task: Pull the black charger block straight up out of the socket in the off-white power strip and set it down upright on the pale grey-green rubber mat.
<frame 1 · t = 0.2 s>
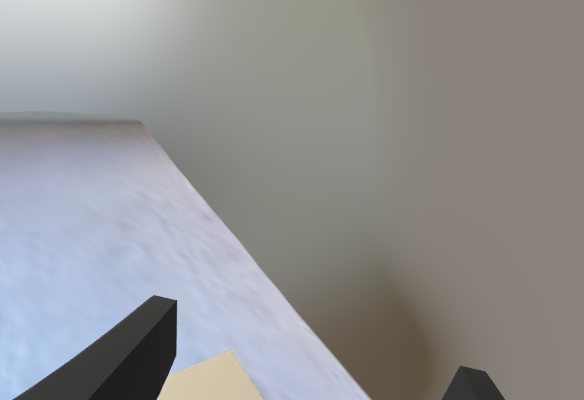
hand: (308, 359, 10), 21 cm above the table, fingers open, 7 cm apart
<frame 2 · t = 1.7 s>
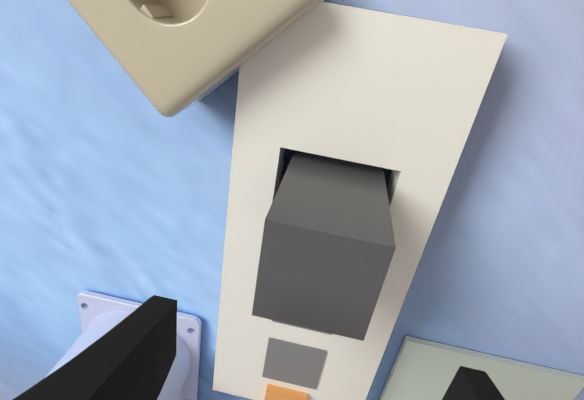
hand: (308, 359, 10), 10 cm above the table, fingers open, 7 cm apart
power strip: (319, 242, 20), on the table
charger: (330, 191, 19), resting in power strip
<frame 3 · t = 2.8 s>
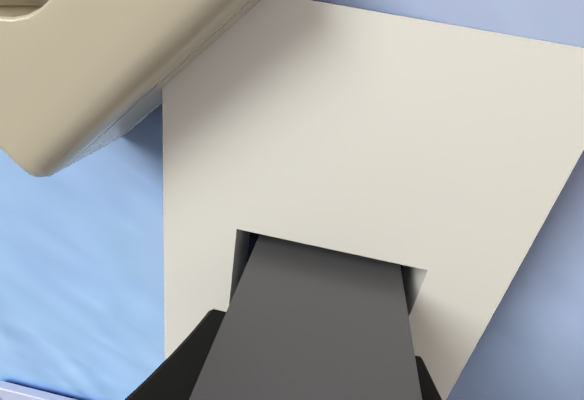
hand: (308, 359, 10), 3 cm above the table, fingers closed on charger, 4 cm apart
power strip: (304, 338, 14), on the table
charger: (319, 275, 13), resting in power strip, touching gripper
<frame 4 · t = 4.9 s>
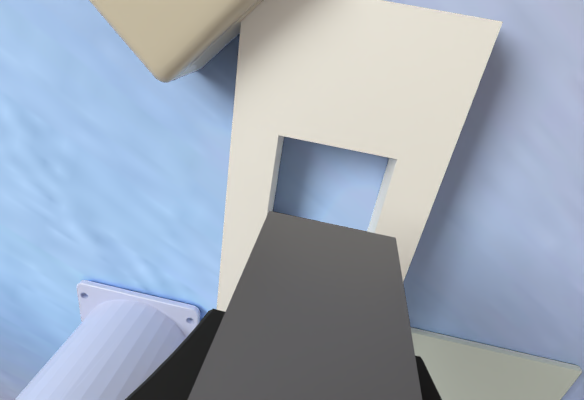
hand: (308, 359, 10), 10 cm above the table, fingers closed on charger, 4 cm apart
power strip: (317, 231, 20), on the table
charger: (319, 274, 13), point 7 cm above the table, touching gripper
mat: (457, 399, 24), on the table
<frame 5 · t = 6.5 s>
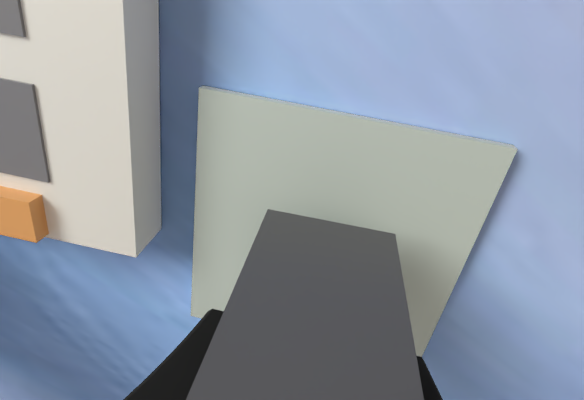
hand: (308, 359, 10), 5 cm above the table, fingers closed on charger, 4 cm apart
charger: (319, 271, 13), point 2 cm above the table, touching gripper
mat: (324, 242, 15), on the table
when the fingers open (5 cm above the table, at t = 6.9 s): charger drops 2 cm, resting on mat.
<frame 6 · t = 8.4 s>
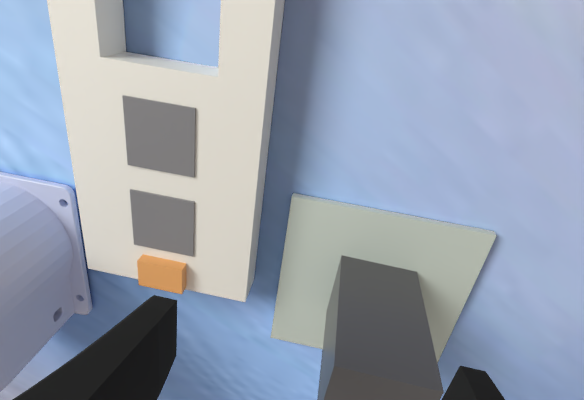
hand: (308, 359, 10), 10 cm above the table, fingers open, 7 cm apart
power strip: (178, 72, 17), on the table
charger: (369, 292, 21), resting on mat
mat: (368, 288, 21), on the table
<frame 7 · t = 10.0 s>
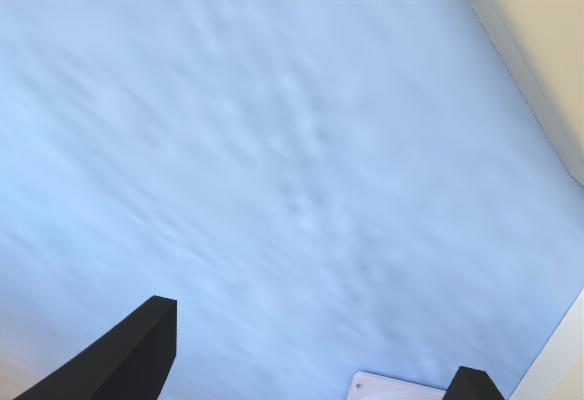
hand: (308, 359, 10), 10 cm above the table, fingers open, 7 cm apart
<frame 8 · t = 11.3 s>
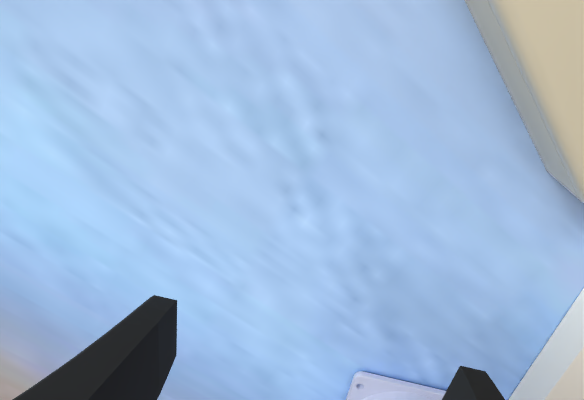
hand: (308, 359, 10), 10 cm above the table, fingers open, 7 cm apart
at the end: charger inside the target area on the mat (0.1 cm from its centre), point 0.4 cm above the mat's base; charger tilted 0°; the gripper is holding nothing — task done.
